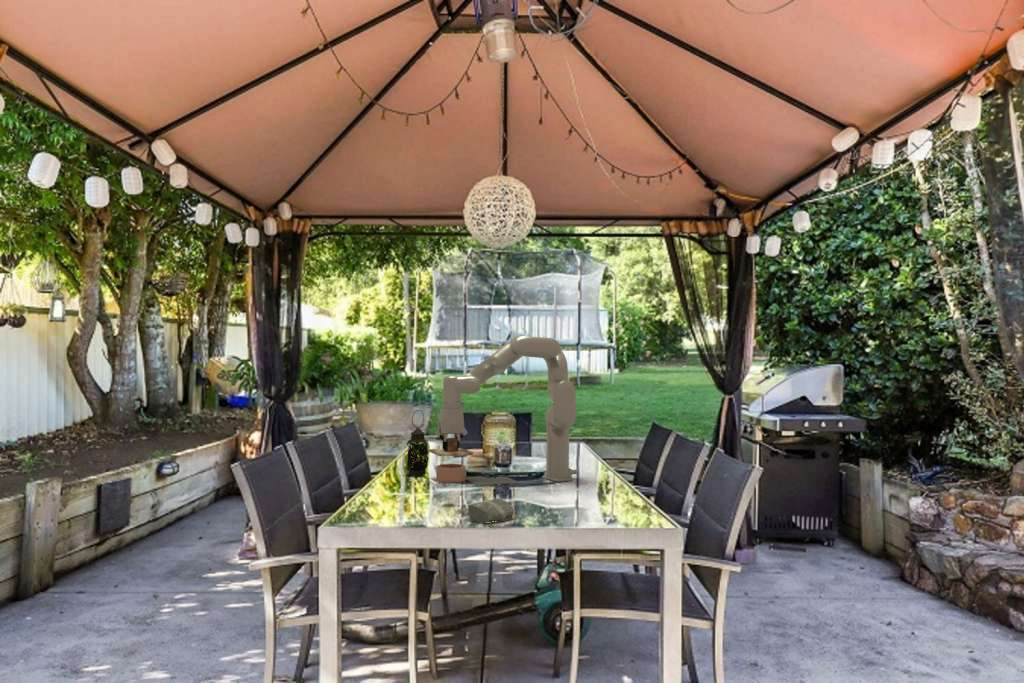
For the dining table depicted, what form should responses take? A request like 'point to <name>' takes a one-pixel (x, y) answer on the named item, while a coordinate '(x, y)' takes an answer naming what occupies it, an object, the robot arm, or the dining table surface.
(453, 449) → the lid
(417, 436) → the lantern
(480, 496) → the dining table surface
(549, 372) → the robot arm
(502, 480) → the mat
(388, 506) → the dining table surface
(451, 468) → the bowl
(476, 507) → the decorative stone
